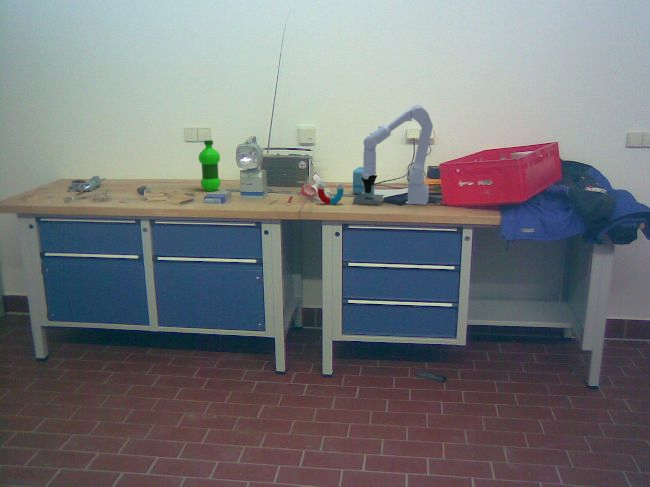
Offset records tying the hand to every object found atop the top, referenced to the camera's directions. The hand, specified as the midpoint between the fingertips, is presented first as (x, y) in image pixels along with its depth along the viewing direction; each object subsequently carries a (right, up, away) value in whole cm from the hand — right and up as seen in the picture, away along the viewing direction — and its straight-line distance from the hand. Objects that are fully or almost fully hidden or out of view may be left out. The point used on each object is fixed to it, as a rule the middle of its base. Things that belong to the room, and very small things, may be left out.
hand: (369, 191), depth 302 cm
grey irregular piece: (-145, +3, +30) cm, 148 cm away
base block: (0, -5, +1) cm, 5 cm away
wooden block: (0, -1, 0) cm, 2 cm away
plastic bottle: (-78, +3, +28) cm, 83 cm away
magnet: (-18, -6, -2) cm, 19 cm away
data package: (-3, +1, +22) cm, 23 cm away
